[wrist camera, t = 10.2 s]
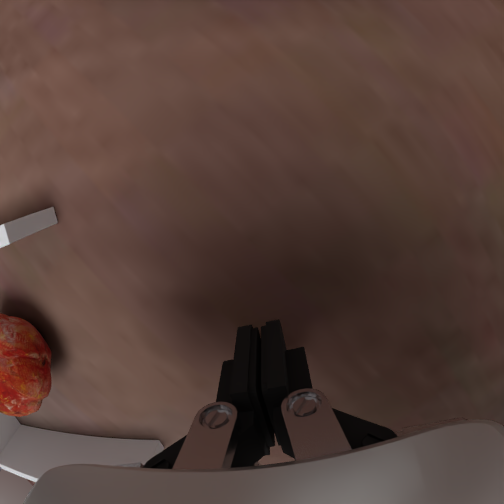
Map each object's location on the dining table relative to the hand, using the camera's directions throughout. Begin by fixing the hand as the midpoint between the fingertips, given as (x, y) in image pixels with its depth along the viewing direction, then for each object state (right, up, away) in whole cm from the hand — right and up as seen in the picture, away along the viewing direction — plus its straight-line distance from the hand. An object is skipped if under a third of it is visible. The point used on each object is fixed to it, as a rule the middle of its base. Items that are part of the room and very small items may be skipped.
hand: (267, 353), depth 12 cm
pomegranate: (-14, -1, +3) cm, 14 cm away
